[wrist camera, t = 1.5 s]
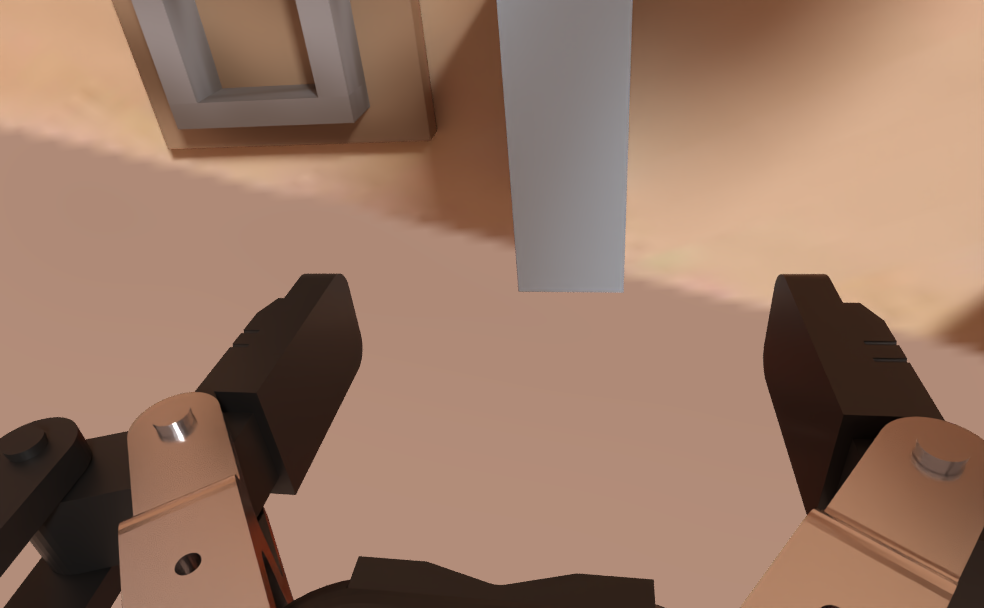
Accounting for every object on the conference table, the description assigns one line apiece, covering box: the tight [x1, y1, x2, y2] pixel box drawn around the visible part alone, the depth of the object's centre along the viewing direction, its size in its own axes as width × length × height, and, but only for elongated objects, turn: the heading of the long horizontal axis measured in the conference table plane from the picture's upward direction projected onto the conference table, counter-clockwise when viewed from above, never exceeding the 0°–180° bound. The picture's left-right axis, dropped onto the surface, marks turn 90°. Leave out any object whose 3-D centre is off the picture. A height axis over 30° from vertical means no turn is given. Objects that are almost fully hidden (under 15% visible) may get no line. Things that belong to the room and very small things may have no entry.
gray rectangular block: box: [497, 0, 633, 292], centre depth 22 cm, size 10×4×8 cm, turn 5°
